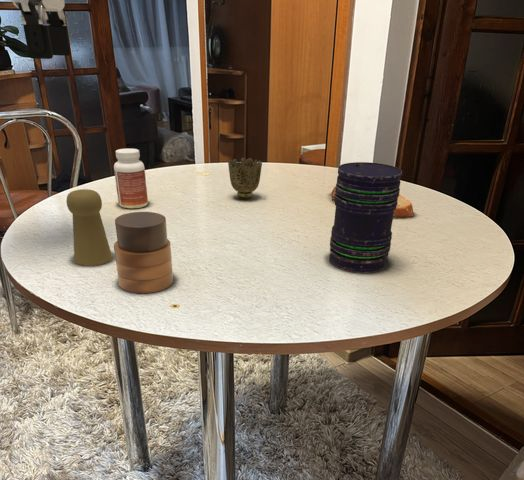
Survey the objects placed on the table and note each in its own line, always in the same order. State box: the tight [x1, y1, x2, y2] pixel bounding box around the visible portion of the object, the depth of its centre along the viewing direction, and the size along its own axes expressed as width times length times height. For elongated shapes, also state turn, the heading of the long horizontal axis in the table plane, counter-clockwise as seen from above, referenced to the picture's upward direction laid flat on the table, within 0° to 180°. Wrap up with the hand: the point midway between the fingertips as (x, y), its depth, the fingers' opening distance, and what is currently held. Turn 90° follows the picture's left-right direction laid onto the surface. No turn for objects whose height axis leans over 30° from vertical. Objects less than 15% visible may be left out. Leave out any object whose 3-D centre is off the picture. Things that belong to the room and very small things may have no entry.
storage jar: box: [328, 161, 403, 274], centre depth 82 cm, size 10×10×15 cm
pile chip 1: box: [113, 238, 172, 267], centre depth 74 cm, size 8×8×2 cm
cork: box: [65, 188, 113, 267], centre depth 81 cm, size 6×6×11 cm
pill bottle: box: [113, 148, 149, 209], centre depth 106 cm, size 6×6×11 cm
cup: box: [227, 157, 263, 201], centre depth 114 cm, size 8×7×8 cm
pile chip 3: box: [116, 269, 174, 294], centre depth 76 cm, size 8×8×2 cm
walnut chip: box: [114, 211, 168, 253], centre depth 73 cm, size 7×7×4 cm
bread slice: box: [331, 186, 415, 219], centre depth 113 cm, size 18×18×4 cm
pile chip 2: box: [115, 257, 173, 280], centre depth 75 cm, size 8×8×2 cm
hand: (51, 56), depth 77 cm, fingers open, 9 cm apart
